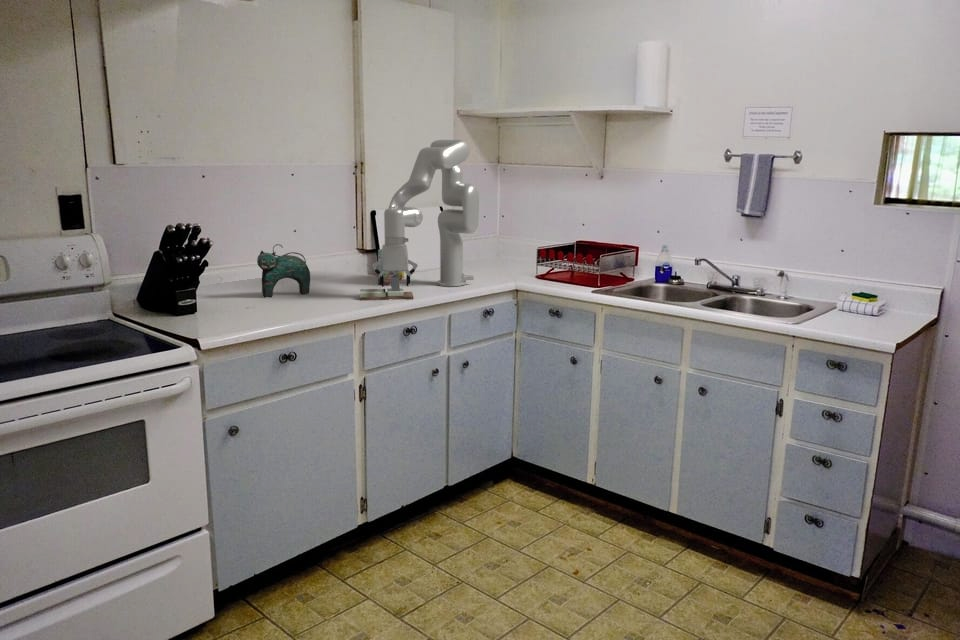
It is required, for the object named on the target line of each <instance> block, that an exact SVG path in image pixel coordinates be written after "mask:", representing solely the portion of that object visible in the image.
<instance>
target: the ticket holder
mask: <svg viewBox="0 0 960 640" xmlns="http://www.w3.org/2000/svg"><path fill="white" fill-rule="evenodd" d="M389 299H406V300H414V294H413V291H404V296H388V293H387V290H386V288H361V289H360V290H359V300H360V301H390V300H389Z"/></svg>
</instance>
